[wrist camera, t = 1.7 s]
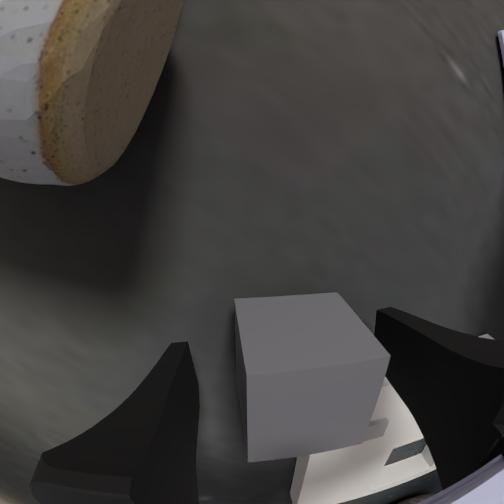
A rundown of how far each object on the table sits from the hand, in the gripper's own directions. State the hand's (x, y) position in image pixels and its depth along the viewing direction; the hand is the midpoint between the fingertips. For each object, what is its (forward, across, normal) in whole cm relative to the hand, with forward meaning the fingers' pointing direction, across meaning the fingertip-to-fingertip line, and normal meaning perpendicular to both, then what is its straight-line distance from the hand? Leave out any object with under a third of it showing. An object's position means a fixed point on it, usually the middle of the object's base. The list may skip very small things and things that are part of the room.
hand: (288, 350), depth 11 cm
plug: (+2, 0, 0) cm, 2 cm away
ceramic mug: (+2, +6, -13) cm, 14 cm away
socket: (+2, -7, +9) cm, 11 cm away
